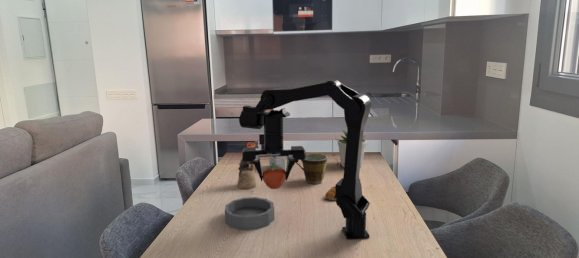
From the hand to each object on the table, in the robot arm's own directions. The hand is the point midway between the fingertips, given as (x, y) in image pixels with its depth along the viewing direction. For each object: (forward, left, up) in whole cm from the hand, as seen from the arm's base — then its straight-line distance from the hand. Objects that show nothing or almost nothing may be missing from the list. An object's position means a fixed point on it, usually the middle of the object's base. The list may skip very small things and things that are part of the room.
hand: (274, 180), depth 121 cm
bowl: (+1, +8, -13) cm, 15 cm away
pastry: (+15, -23, -13) cm, 31 cm away
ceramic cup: (+32, -16, -13) cm, 38 cm away
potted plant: (+48, -36, -13) cm, 61 cm away
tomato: (0, 0, -2) cm, 2 cm away
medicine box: (+50, -4, -13) cm, 52 cm away
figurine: (+30, +9, -13) cm, 34 cm away
